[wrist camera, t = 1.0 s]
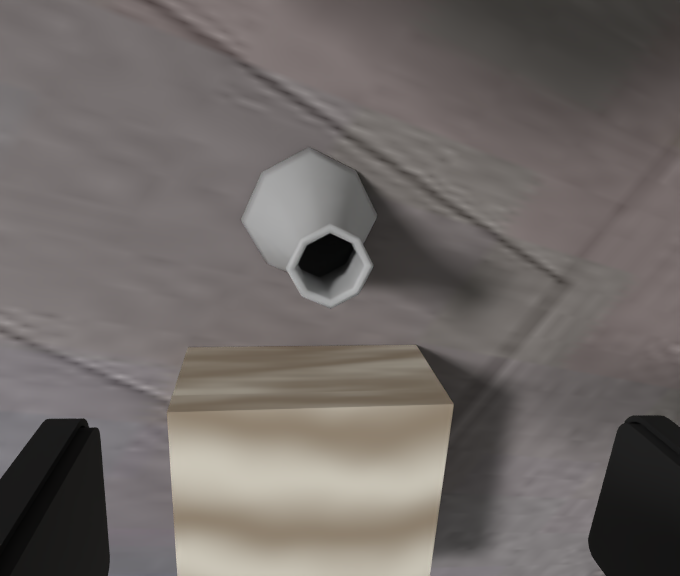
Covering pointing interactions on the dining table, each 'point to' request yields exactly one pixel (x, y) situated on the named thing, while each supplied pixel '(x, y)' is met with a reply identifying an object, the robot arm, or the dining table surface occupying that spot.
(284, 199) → the flask
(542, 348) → the dining table surface
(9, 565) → the robot arm
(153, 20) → the dining table surface
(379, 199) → the dining table surface
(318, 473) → the grooved beige box
